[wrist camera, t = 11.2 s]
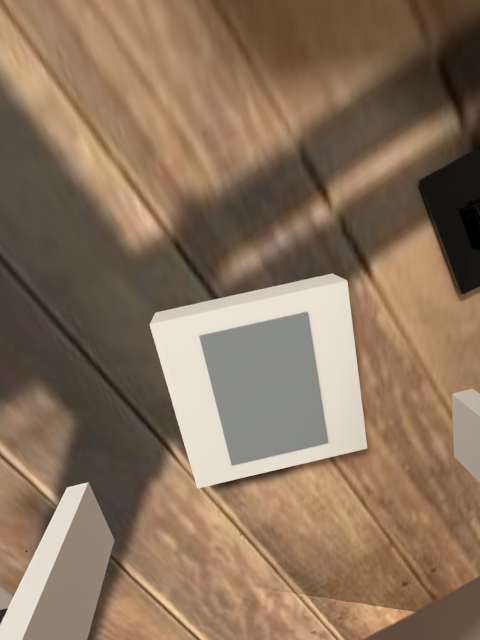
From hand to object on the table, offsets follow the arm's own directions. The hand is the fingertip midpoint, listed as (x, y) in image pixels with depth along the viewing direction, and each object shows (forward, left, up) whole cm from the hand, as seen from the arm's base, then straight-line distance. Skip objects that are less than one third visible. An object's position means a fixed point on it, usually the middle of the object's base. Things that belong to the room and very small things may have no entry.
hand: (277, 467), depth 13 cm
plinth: (+8, +1, -25) cm, 26 cm away
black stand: (-2, +24, -26) cm, 36 cm away
